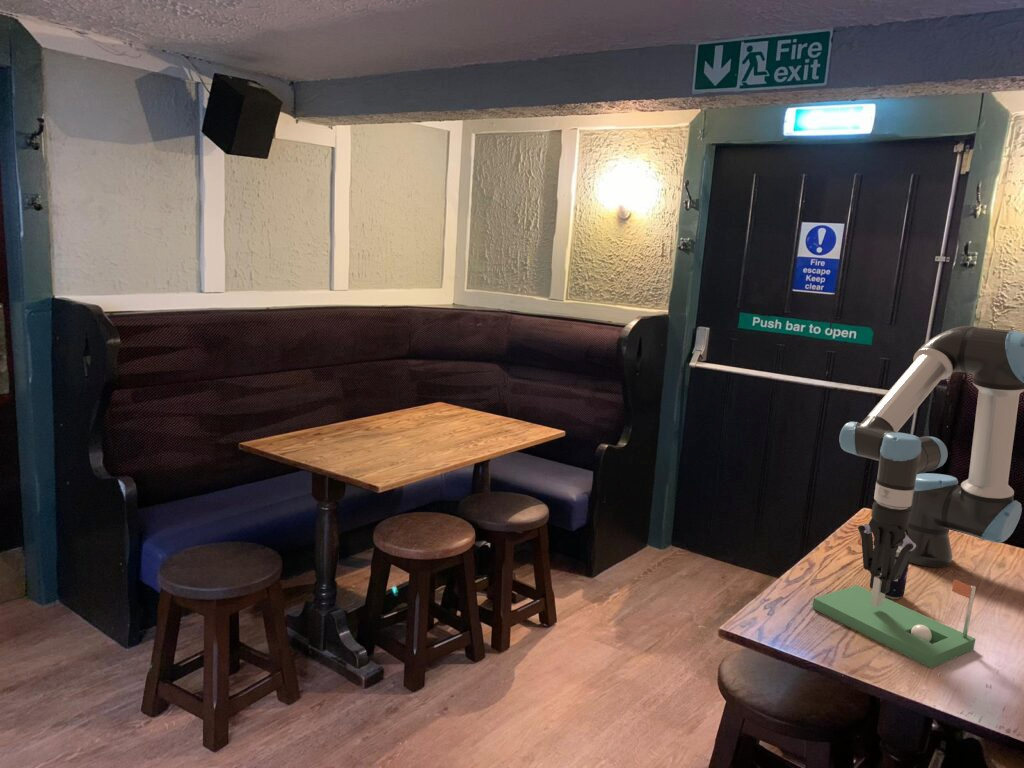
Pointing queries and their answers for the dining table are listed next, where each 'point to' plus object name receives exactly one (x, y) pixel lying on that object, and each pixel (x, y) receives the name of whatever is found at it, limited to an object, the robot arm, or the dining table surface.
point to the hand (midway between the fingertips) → (876, 603)
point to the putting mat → (894, 626)
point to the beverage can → (898, 581)
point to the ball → (921, 632)
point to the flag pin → (969, 593)
